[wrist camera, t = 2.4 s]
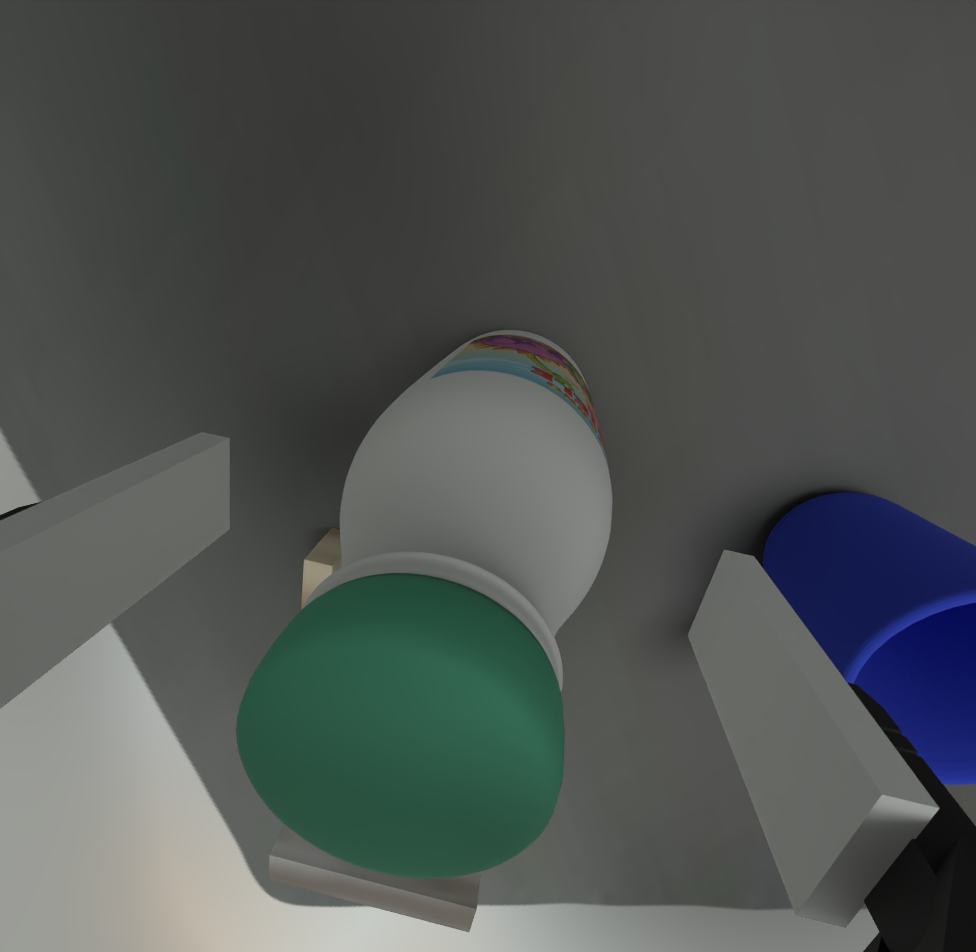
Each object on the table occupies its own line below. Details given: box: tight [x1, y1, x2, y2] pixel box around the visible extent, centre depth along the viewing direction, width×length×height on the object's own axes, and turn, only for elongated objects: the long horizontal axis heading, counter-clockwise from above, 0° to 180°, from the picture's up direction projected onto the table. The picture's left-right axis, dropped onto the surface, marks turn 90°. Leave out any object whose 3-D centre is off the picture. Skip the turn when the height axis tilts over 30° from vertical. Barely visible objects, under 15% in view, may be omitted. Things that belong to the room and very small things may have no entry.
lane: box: [269, 528, 481, 932], centre depth 30 cm, size 22×13×6 cm, turn 169°
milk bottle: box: [236, 330, 612, 879], centre depth 16 cm, size 8×8×20 cm
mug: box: [763, 492, 976, 785], centre depth 22 cm, size 8×12×10 cm
